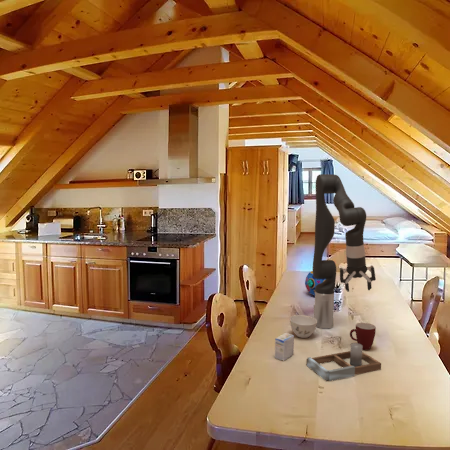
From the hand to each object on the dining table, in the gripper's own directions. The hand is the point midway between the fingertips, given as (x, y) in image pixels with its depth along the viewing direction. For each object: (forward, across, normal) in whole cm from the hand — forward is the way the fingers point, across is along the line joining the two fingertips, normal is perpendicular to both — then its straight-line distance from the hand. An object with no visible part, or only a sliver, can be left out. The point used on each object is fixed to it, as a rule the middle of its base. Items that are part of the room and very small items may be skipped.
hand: (358, 290), depth 165 cm
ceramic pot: (+34, +17, -72) cm, 82 cm away
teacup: (+24, +26, -6) cm, 35 cm away
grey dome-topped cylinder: (+22, +5, +20) cm, 31 cm away
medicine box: (+19, +33, +19) cm, 43 cm away
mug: (+25, +1, +4) cm, 26 cm away
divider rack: (+21, +10, +24) cm, 33 cm away
